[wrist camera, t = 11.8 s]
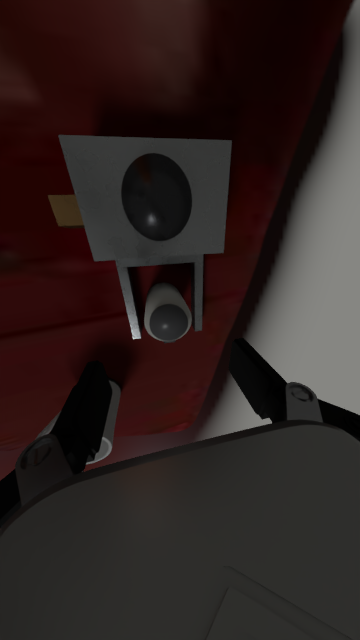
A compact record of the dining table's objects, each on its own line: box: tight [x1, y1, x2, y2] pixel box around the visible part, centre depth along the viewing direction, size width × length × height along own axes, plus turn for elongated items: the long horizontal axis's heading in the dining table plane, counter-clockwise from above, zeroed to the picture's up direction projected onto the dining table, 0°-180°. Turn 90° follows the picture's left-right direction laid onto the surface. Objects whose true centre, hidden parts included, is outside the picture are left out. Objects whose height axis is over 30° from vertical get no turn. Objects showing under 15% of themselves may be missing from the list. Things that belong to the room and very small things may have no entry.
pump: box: [144, 282, 192, 343], centre depth 21 cm, size 7×6×9 cm
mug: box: [36, 378, 121, 464], centre depth 27 cm, size 11×9×10 cm
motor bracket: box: [48, 135, 232, 339], centre depth 19 cm, size 21×17×8 cm
